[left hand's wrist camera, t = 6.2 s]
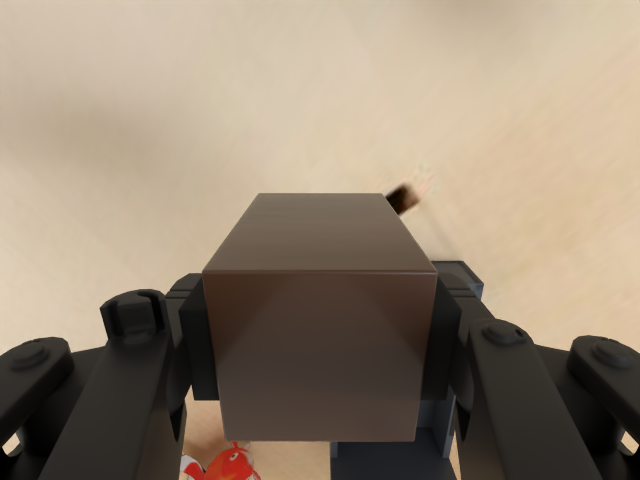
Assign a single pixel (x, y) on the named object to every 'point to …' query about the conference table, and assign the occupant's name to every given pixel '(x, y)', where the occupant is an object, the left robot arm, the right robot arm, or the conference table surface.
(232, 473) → the fish
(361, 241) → the block
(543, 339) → the conference table surface
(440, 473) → the dark grey open box
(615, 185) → the conference table surface
